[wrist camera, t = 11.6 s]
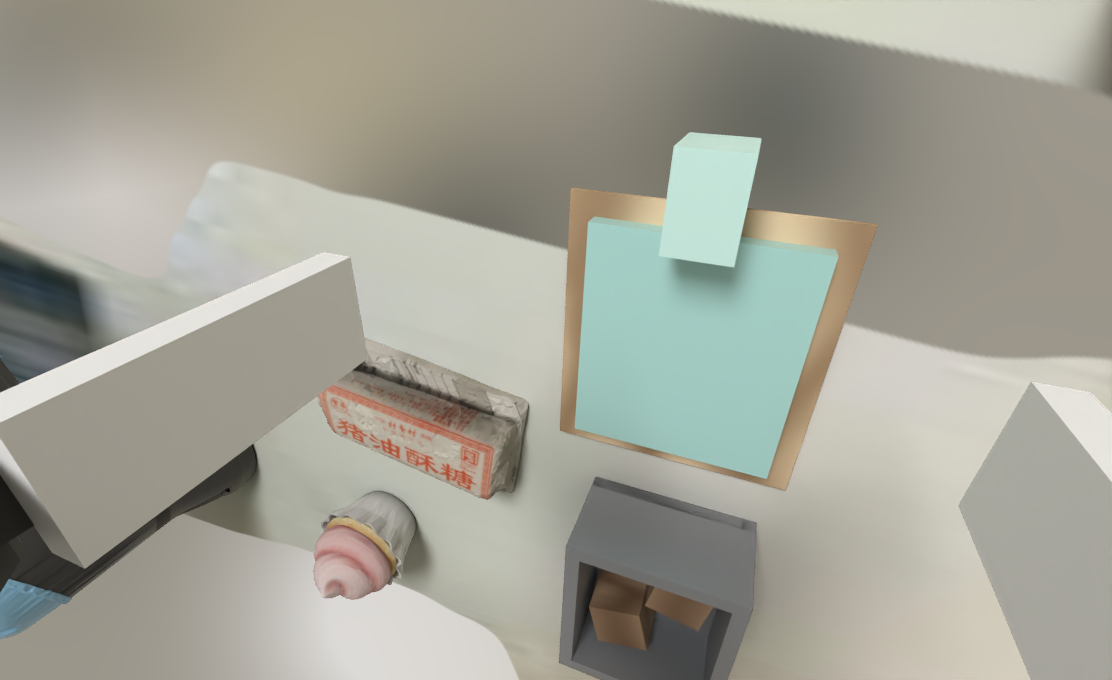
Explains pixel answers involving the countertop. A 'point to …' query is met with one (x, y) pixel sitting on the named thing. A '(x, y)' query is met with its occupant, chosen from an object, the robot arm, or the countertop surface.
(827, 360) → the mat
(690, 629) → the tub
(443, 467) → the packaged product
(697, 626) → the block
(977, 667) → the countertop surface
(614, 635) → the block
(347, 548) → the cupcake
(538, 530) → the countertop surface
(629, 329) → the lid
